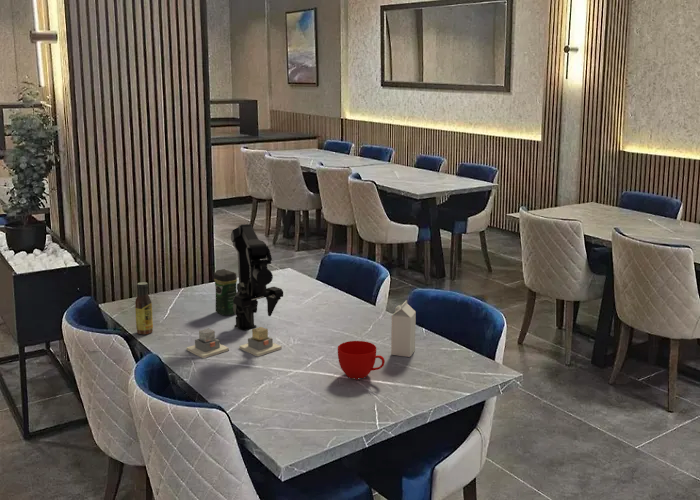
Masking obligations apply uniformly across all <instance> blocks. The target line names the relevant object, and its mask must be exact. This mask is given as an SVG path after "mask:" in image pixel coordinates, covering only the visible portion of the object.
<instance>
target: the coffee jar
mask: <svg viewBox="0 0 700 500" xmlns="http://www.w3.org/2000/svg"><path fill="white" fill-rule="evenodd" d="M213 278H214V279H213V280H214V281H213V282H214V286H215V312H216V313H217V314H219V315H221V316H225V317H226V316H233V315H235V313H234V311H233V305H234V304H233V299H234V297H235V296H236V293H237V291H238V290H237V284H238V283H237V282H238V277H237V273H236V272H234V271H230V270H227V269H225V268H222V269H217V270H216V271H214V277H213ZM237 310H238V309H237Z"/></svg>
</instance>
